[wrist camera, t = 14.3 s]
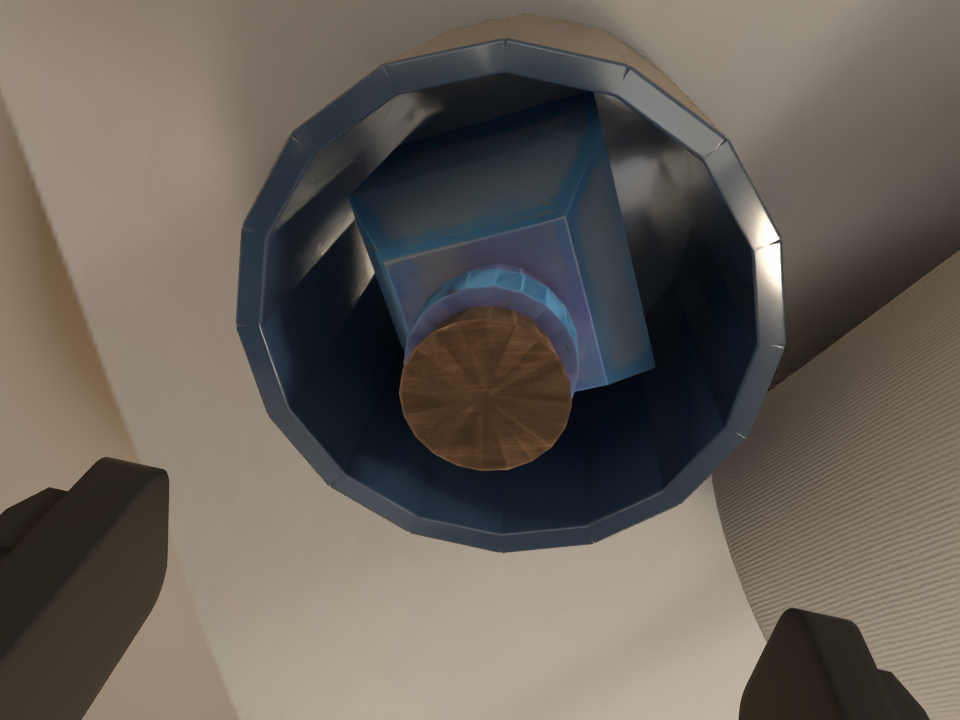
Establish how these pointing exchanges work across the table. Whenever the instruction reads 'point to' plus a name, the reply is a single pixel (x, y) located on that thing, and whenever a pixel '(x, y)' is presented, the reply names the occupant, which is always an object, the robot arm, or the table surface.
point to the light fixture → (863, 490)
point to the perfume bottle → (504, 279)
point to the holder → (595, 412)
